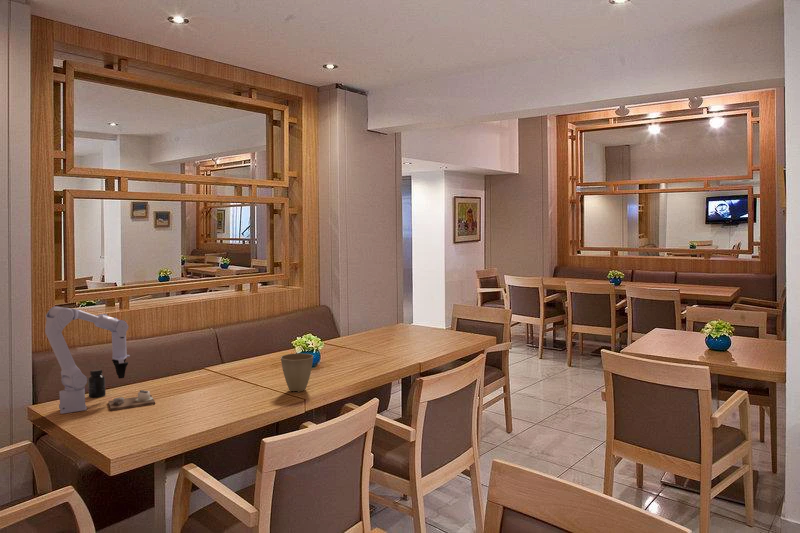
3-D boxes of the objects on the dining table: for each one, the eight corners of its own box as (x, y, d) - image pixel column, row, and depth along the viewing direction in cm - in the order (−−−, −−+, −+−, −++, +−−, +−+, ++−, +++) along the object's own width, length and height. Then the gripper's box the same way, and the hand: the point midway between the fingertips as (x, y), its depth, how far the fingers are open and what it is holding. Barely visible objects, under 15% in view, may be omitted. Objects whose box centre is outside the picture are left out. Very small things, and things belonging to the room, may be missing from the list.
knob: (135, 399, 243) (135, 391, 243) (144, 397, 247) (144, 389, 247) (143, 401, 241) (143, 392, 241) (152, 398, 245) (152, 390, 245)
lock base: (111, 410, 231) (110, 403, 231) (108, 403, 242) (108, 396, 242) (155, 404, 240) (154, 397, 240) (150, 396, 251) (150, 390, 251)
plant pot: (292, 396, 249) (291, 361, 248) (275, 390, 260) (274, 356, 259) (320, 390, 258) (319, 356, 258) (303, 384, 270) (302, 351, 269)
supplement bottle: (108, 396, 254) (107, 370, 253) (91, 399, 249) (90, 372, 248) (102, 393, 259) (101, 367, 258) (86, 396, 254) (85, 370, 253)
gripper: (131, 347, 245) (132, 378, 245) (127, 342, 257) (128, 371, 258) (113, 349, 241) (114, 380, 242) (110, 344, 253) (111, 374, 254)
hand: (120, 376), depth 249 cm, fingers open, 7 cm apart
